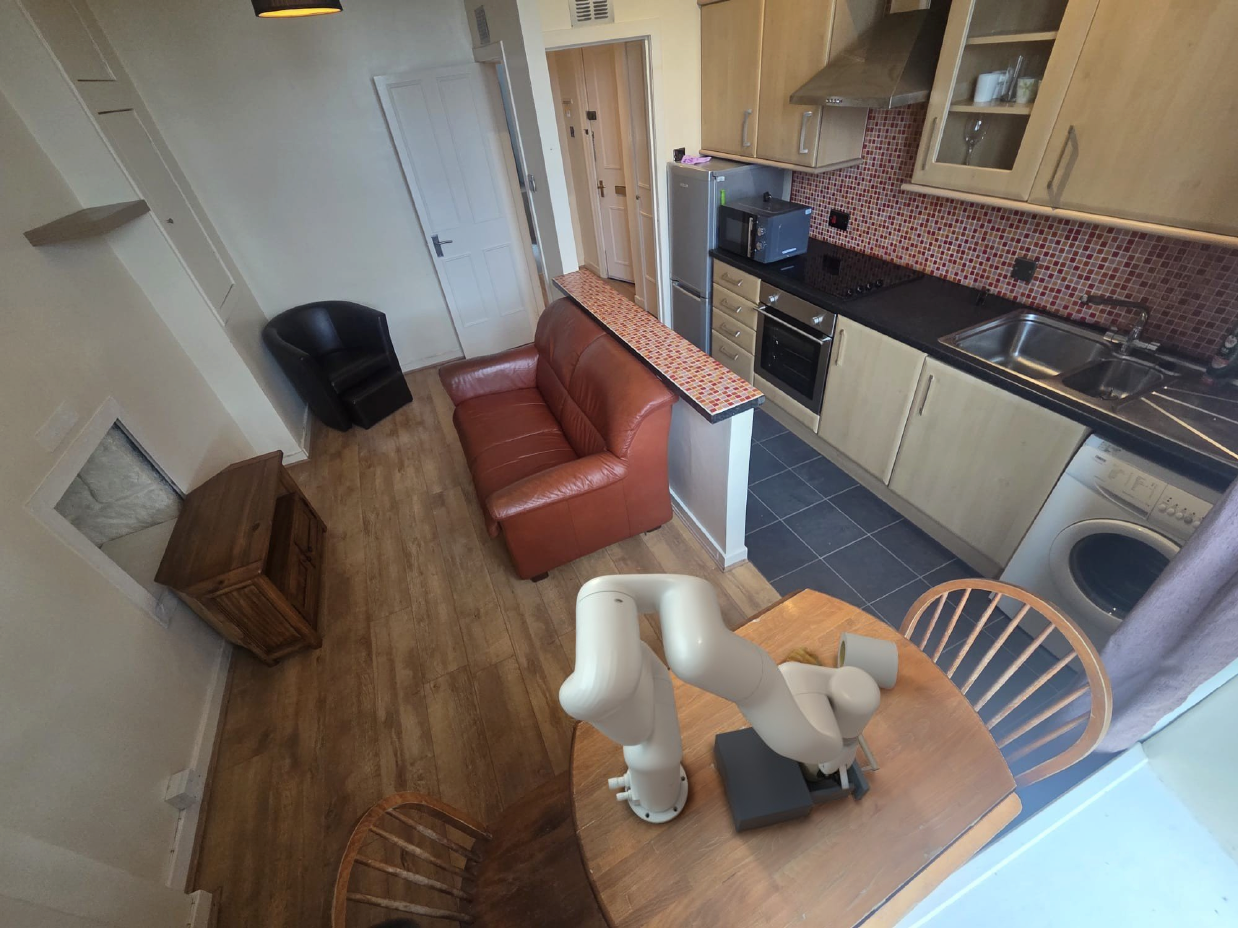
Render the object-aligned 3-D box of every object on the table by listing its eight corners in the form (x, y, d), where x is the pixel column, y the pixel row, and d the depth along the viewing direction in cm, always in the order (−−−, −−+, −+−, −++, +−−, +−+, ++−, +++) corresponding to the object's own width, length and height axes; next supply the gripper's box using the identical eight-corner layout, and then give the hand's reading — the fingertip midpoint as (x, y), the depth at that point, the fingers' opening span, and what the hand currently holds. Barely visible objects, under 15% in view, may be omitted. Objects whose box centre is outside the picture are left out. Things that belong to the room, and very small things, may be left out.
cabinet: (775, 736, 108) (781, 720, 102) (806, 817, 97) (814, 803, 91) (713, 749, 107) (715, 734, 101) (736, 832, 96) (740, 820, 90)
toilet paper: (838, 685, 114) (847, 664, 107) (837, 645, 121) (846, 623, 114) (886, 697, 112) (900, 676, 105) (883, 655, 118) (895, 633, 112)
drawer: (848, 722, 108) (855, 709, 103) (882, 794, 98) (892, 783, 93) (771, 739, 106) (775, 726, 102) (798, 813, 96) (804, 803, 92)
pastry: (798, 694, 113) (800, 687, 111) (773, 672, 118) (775, 664, 115) (823, 667, 117) (826, 659, 115) (798, 647, 122) (801, 639, 119)
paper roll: (804, 784, 98) (817, 762, 90) (792, 753, 103) (803, 729, 94) (831, 778, 99) (847, 755, 91) (818, 748, 103) (832, 723, 95)
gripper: (795, 673, 91) (780, 714, 103) (841, 780, 78) (818, 812, 91) (835, 665, 92) (815, 707, 104) (887, 770, 79) (858, 804, 91)
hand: (817, 756), depth 97 cm, fingers closed on paper roll, 5 cm apart
